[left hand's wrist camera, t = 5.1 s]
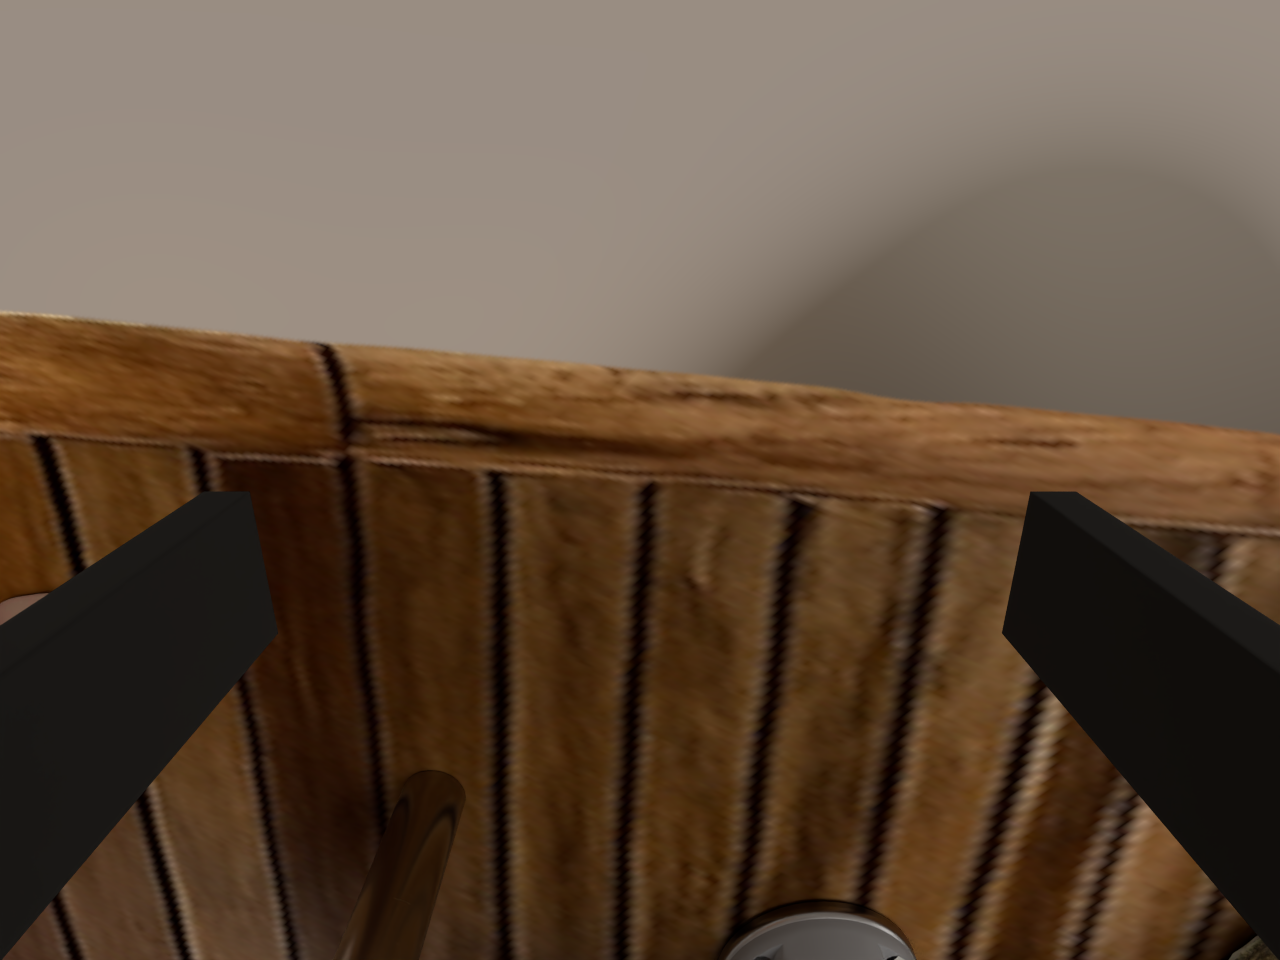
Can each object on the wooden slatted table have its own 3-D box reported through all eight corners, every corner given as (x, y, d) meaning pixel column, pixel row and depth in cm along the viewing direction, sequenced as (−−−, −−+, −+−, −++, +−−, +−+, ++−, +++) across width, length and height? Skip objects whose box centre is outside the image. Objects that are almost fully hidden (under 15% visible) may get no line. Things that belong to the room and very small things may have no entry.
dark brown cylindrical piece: (391, 781, 50) (273, 1054, 34) (448, 762, 49) (355, 1031, 33) (420, 826, 51) (320, 1109, 35) (476, 809, 50) (400, 1088, 34)
